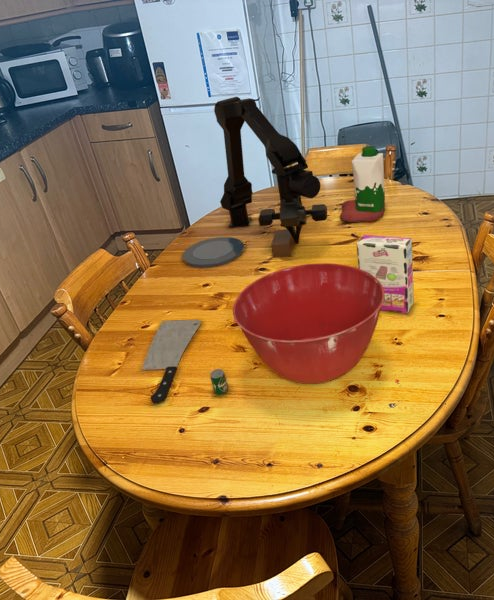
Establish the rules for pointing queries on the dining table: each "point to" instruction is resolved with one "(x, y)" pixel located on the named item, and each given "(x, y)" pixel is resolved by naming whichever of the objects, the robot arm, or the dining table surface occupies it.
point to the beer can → (219, 382)
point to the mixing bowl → (310, 319)
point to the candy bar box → (389, 268)
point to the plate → (213, 252)
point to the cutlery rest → (282, 244)
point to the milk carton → (369, 180)
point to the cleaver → (169, 351)
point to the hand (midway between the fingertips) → (297, 243)
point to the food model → (358, 213)
